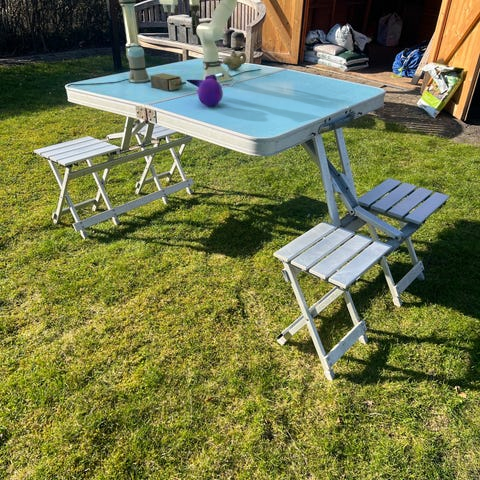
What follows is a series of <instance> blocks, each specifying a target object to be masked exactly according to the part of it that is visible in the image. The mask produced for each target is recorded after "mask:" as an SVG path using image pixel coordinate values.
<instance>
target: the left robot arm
mask: <svg viewBox="0 0 480 480" xmlns="http://www.w3.org/2000/svg"><path fill="white" fill-rule="evenodd" d="M136 1H137V0H118V2H119V5H120V6H121V10H122V15H123V22H124V31H125V35H126V36H125V38H126V44H125V55H126V59H127V60H128V66H129V76H128V78H125V79H122V80H117V81H107V82H97V83H95V82H94V83H69V84H70V85H69V84H68V85H67V87H68V88H69V87H70V86H89V85H93V86H94V85H106V84H115V83H116V84H117V83H121V82H125V81H128V82H129V83H133V84H141V83H148V82H150V81H151V79H150V75H149V74H148V71H147V67H146V59H145V50H144V48H143V47H142V43H140V42H139V41H140V40H139V34H138V25H137V18H136V11H135V6H136V5H137V2H136ZM200 1H201V0H188V3H189V11H190V12H191V19H190V20H191V21H190V22H191V23H190V24H191V29H192V36H196V38H199V36H198V35H197V31H196V30H197V27H198V25H199V24H201V23H200V16H199V14H200V13H199V12H200V10H201V9H200V8H201V7H200ZM72 131H73V135H74V137H76V132H75V129H73V130H72Z"/></svg>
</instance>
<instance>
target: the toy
mask: <svg viewBox="0 0 480 480" xmlns="http://www.w3.org/2000/svg"><path fill="white" fill-rule="evenodd" d="M185 82H187V83H190V84H191V85H193V86H194V87H197V88H198V89H197V97H198V100H199V102H200V103H201V105H204V106H207V107H215V106H217V105H218V104H219V103H220V102H221V101H222V99H223V96H224V92H223V87H222V85H221V83H220V82H217V78H216V76H215V75H209V76H206V77H205V80H203V79H185Z"/></svg>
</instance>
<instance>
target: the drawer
mask: <svg viewBox="0 0 480 480" xmlns="http://www.w3.org/2000/svg"><path fill="white" fill-rule="evenodd" d="M168 81H169V89H170V90H173V91H175V90H174V89H178V90H180V89H179V88H181V89H183V86H184V85H187V81H183V79H182V78H181V77H180V79H173V80H168Z"/></svg>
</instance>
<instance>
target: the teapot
mask: <svg viewBox="0 0 480 480" xmlns="http://www.w3.org/2000/svg"><path fill="white" fill-rule="evenodd" d="M241 58H242V59H241ZM222 61H223V62H224V63H223V65H225V66H227V69H228V71H229V70H230V71H238V70H239V69H240V68H241V67H242V65H244V64H245V63H246V61H247V56H246V53H245V52H243V51H242V52H239V54H237V53H236V52H235V50H232V51H231V54H230V56H226V57H224V58H223V60H222Z"/></svg>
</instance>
